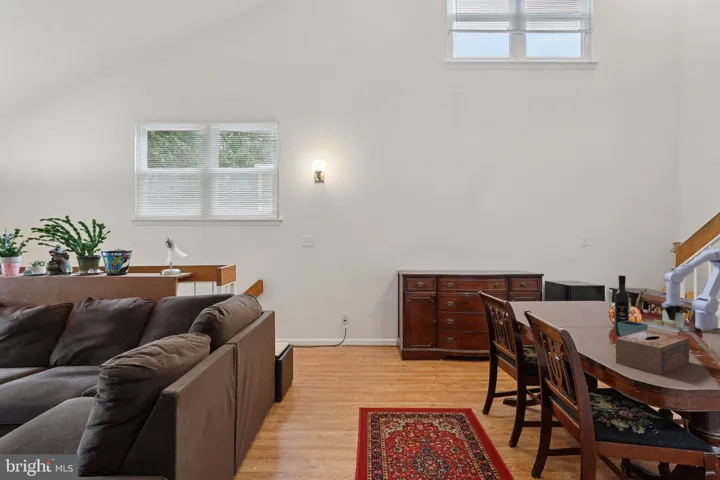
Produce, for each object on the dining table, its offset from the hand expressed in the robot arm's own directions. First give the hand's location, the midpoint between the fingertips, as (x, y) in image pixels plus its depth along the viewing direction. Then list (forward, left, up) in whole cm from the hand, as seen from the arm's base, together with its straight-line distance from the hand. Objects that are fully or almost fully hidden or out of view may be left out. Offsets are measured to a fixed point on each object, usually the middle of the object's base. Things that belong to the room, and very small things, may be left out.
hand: (673, 319), depth 197 cm
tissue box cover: (+67, +34, -5) cm, 75 cm away
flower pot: (+46, +11, -5) cm, 47 cm away
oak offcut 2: (+7, +3, -4) cm, 8 cm away
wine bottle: (+38, 0, -5) cm, 38 cm away
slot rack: (+4, 0, -5) cm, 6 cm away
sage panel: (0, 0, -4) cm, 4 cm away
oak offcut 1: (+7, -3, -4) cm, 8 cm away
